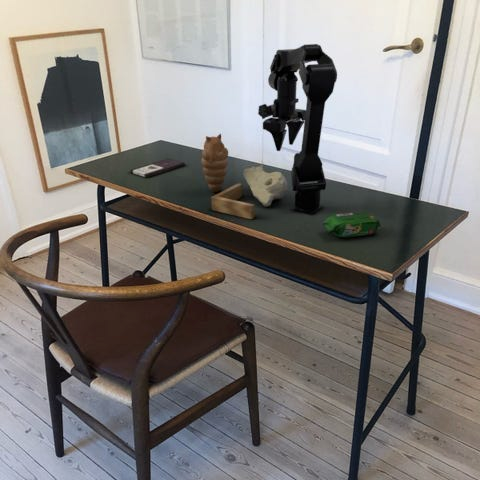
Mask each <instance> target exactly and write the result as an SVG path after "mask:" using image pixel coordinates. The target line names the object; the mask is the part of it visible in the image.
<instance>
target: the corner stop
mask: <svg viewBox="0 0 480 480" xmlns="http://www.w3.org/2000/svg"><path fill="white" fill-rule="evenodd" d="M242 197H243V184H242V183H239V182H237V183H236V184H234V185H232V186H230V187H228V188H226V189H224V190H222V191H219V193H218V192H217V194H215V195H213V196H211V197H210V198H211V199H210V200H211V211H214V212H218V213H222V214H228V215H231V216H235V217H239V218H244V219H248V220H253V219H254V218H255V204H253V203H248V202H244V201H239V199H240V198H242Z"/></svg>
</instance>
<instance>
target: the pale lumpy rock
mask: <svg viewBox="0 0 480 480" xmlns="http://www.w3.org/2000/svg"><path fill="white" fill-rule="evenodd" d="M263 166H264V165H259V166H254V165H253V166H252V167H247V168H245V169H243V170H242V175H243V177H244V179H245V181H246V183H247V184H248V186H249V188H250V190H251V193H252V196H253V197H254V198H256V199H257V201H259V202H260V203H261V204H262V206H264V207H265V208H268V207H270V206H271V205H272V202H273V201H274V200H280V199H282V198H283V196H284V195H285V194H286V193H287V191H288V186H289V185H288V182H287V179H286V177H285V176H284V174H283V173H281V172H280V171H273V172H272V171H271V172H266V171H265V170H264V168H263Z"/></svg>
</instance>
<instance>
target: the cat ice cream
mask: <svg viewBox="0 0 480 480" xmlns="http://www.w3.org/2000/svg"><path fill="white" fill-rule="evenodd" d="M228 157H229V150H228V148H227V147H225V144H224V143H223V141H222V133H219V134H218V135H217V136H207V135H206V136H205V141H204V143H203V149H202V151H201V161H200V163H201V164H200V165H201V166H202V173H203V174H204V179H205V181H206V183H207V185H208V189H209V190H210V192H211V193H218V192H221V190H222V188H223V184H224V182H225V177H226V175H227V167H228V164H229V163H228Z"/></svg>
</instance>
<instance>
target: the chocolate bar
mask: <svg viewBox="0 0 480 480" xmlns="http://www.w3.org/2000/svg"><path fill="white" fill-rule="evenodd" d="M184 166H186V165H185V162H184V161H180V160H176V159H172V158H170V157H169V158H165V159H160V160H158V161H154V162H151V163H148V164H145V165H142V166H137V167H135V168H132V169H130V170H129V171H130V174H134V175H137V176H141V177H144V178H151V177H152V176H157V175H159V174H162V173H165V172H168V171H169V172H170V171H171V170H174V169H178V168H181V167H184Z"/></svg>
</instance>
